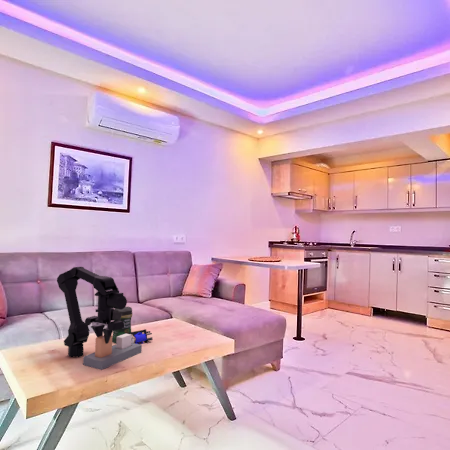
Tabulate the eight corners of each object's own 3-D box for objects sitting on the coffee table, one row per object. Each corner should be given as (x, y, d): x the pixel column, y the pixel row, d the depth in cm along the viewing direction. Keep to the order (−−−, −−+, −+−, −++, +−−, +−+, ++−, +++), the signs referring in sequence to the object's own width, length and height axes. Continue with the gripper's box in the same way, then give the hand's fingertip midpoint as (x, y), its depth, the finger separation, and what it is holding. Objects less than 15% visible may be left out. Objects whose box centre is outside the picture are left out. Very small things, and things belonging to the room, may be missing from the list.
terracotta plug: (95, 357, 144) (95, 337, 145) (106, 353, 150) (106, 334, 150) (100, 359, 143) (101, 339, 143) (111, 355, 148) (112, 335, 148)
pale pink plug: (116, 355, 155) (116, 336, 155) (125, 351, 160) (125, 333, 160) (121, 356, 153) (122, 337, 153) (131, 352, 158) (131, 334, 159)
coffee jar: (117, 346, 170) (118, 309, 170) (109, 343, 175) (110, 307, 176) (134, 342, 177) (135, 307, 177) (126, 339, 182) (127, 304, 183)
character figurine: (154, 344, 175) (126, 350, 165) (148, 340, 180) (121, 345, 171) (155, 329, 174) (127, 335, 165) (149, 325, 180) (121, 330, 171)
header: (83, 367, 143) (83, 356, 143) (124, 350, 164) (124, 341, 165) (101, 372, 138) (101, 361, 138) (141, 354, 159) (141, 344, 159)
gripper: (133, 305, 149) (133, 341, 149) (104, 301, 158) (103, 334, 158) (114, 310, 139) (113, 348, 139) (84, 305, 149) (83, 341, 148)
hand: (103, 342), depth 146 cm, fingers closed on terracotta plug, 4 cm apart
